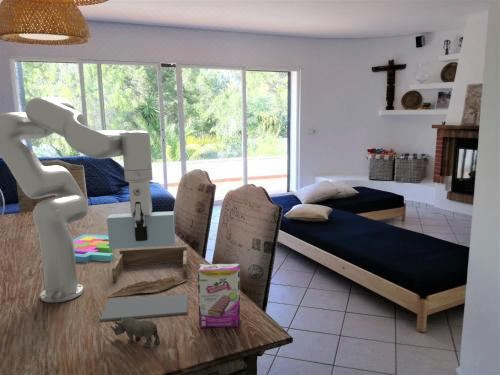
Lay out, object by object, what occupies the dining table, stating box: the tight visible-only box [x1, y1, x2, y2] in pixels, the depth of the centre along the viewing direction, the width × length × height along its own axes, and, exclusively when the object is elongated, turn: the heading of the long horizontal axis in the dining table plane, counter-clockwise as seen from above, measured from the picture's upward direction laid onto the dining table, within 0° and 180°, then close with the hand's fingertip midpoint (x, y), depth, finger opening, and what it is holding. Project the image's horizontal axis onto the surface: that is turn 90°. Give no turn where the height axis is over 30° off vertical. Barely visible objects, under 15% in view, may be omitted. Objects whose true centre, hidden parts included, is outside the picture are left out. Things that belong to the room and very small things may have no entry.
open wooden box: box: [111, 245, 188, 283], centre depth 147 cm, size 17×25×6 cm
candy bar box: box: [197, 263, 241, 328], centre depth 107 cm, size 11×5×16 cm, turn 92°
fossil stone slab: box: [107, 276, 188, 298], centre depth 132 cm, size 26×11×1 cm, turn 114°
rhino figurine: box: [110, 317, 161, 348], centre depth 101 cm, size 4×14×6 cm, turn 71°
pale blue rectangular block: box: [106, 210, 176, 250], centre depth 114 cm, size 4×18×9 cm, turn 98°
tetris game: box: [73, 233, 115, 263], centre depth 171 cm, size 28×3×28 cm
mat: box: [99, 293, 189, 322], centre depth 118 cm, size 12×24×1 cm, turn 98°
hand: (142, 237), depth 115 cm, fingers closed on pale blue rectangular block, 4 cm apart
